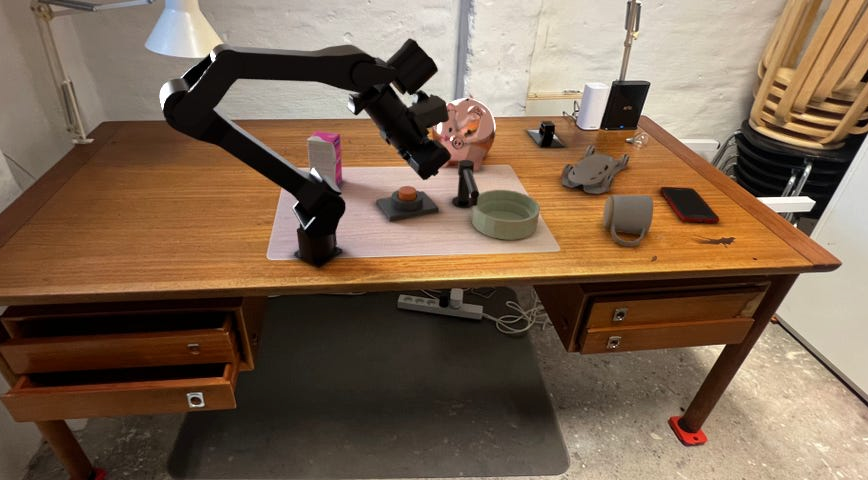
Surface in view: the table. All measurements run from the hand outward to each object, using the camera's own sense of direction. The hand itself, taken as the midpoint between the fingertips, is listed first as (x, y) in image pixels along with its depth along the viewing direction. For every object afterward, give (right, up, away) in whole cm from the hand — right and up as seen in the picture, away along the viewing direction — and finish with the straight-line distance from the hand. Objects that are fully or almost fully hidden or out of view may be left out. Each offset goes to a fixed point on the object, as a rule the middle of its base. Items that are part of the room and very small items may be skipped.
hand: (436, 173), depth 95 cm
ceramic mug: (+38, -11, +7) cm, 40 cm away
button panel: (-6, -5, +13) cm, 15 cm away
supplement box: (-24, +1, +21) cm, 32 cm away
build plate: (+33, +19, +48) cm, 61 cm away
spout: (+7, -2, +8) cm, 11 cm away
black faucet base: (+6, -3, +16) cm, 17 cm away
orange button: (-6, -3, +12) cm, 13 cm away
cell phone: (+56, -4, +17) cm, 59 cm away
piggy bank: (+8, +9, +34) cm, 36 cm away
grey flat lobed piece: (+39, +4, +28) cm, 49 cm away
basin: (+14, -9, +9) cm, 19 cm away
